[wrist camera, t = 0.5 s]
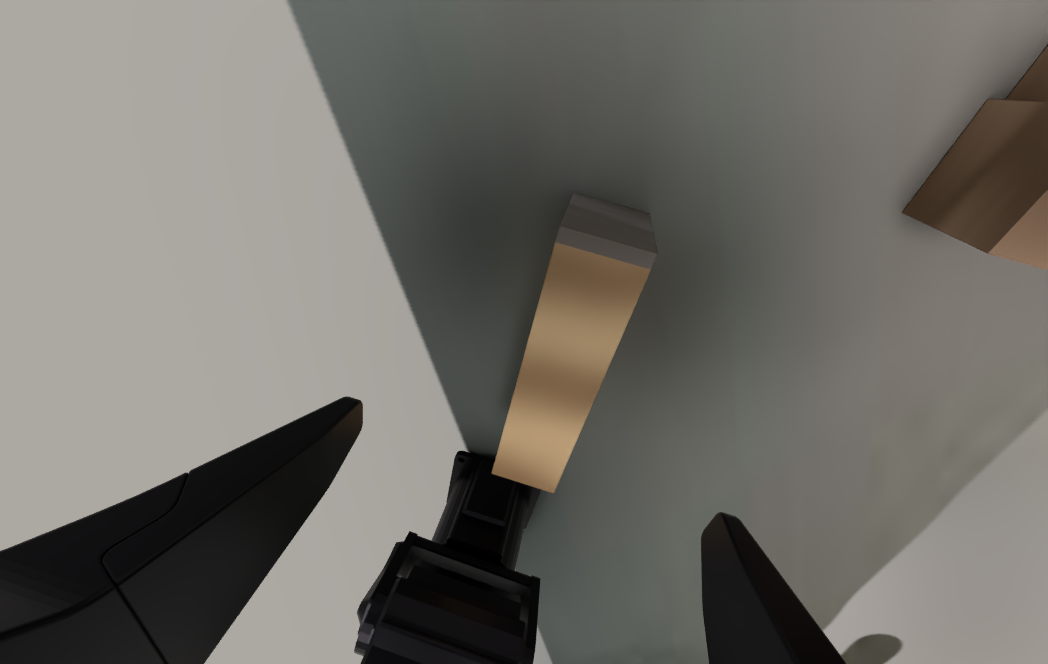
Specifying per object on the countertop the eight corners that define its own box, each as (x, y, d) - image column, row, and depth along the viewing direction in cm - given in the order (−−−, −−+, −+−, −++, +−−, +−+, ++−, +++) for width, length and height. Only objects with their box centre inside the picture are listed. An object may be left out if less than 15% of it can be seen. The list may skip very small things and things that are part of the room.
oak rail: (564, 426, 26) (553, 493, 22) (512, 410, 26) (491, 473, 22) (649, 213, 18) (657, 254, 14) (573, 192, 18) (559, 226, 14)
